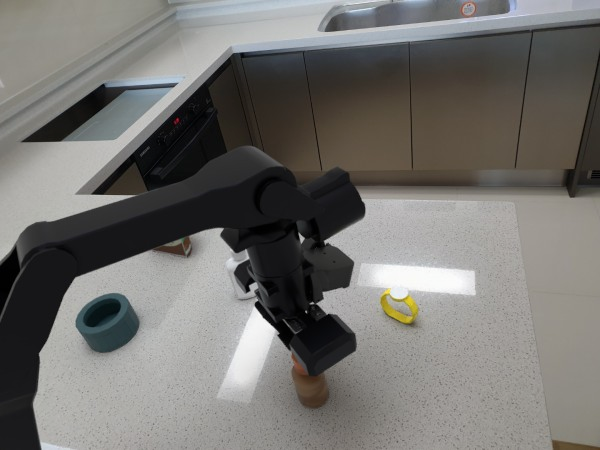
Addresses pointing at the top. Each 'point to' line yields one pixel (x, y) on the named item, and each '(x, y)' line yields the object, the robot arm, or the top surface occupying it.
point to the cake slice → (176, 248)
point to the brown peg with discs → (298, 366)
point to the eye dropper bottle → (231, 267)
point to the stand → (310, 389)
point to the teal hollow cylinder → (107, 322)
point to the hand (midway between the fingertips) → (301, 349)
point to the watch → (399, 296)
